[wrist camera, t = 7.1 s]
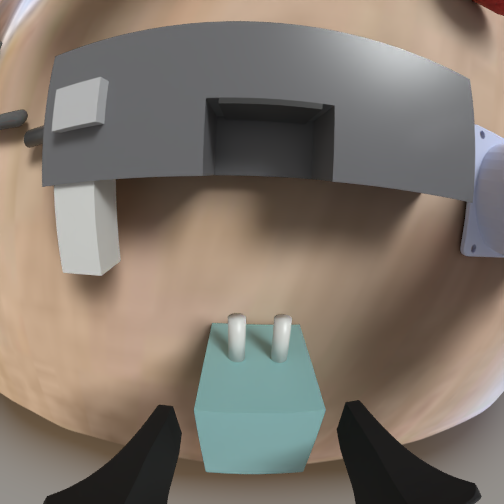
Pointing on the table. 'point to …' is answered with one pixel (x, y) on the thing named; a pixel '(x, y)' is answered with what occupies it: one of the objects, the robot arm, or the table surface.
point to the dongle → (87, 226)
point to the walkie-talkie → (12, 117)
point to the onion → (492, 5)
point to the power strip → (257, 109)
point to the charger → (257, 398)
